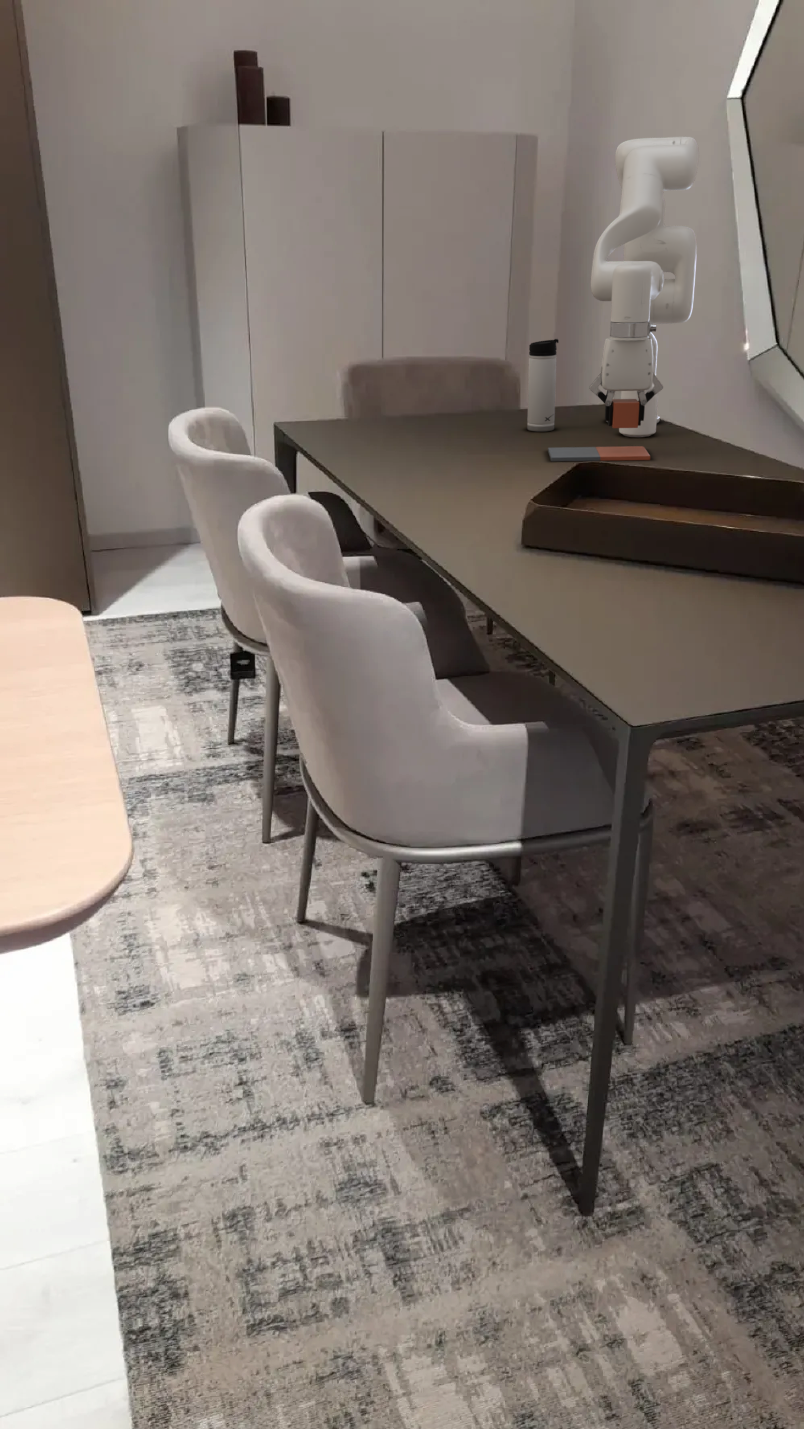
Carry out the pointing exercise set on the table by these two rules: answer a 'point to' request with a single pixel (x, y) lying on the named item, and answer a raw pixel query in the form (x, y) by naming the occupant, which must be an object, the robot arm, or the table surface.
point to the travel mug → (542, 385)
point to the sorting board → (598, 453)
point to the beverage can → (649, 415)
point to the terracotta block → (625, 413)
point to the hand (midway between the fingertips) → (623, 423)
